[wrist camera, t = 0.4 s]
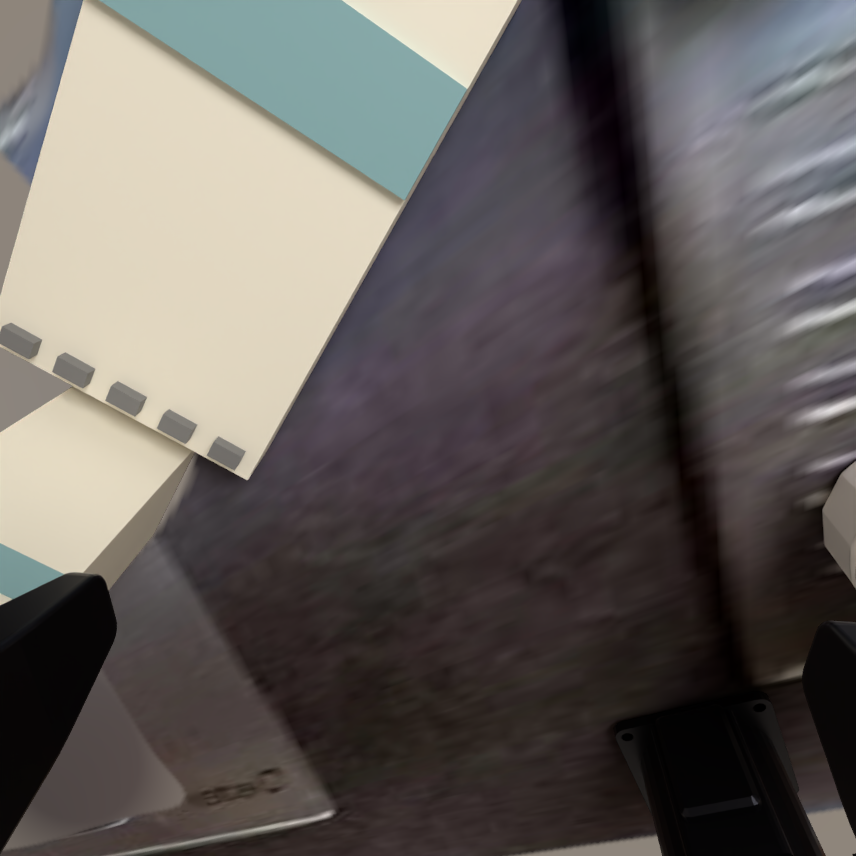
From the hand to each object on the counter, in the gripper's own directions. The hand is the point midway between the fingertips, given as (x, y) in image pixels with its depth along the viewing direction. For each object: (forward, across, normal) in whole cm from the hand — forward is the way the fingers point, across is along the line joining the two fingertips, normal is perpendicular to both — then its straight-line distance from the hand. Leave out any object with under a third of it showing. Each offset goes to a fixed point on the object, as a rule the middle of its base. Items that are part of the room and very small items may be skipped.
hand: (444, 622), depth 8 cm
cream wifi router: (+13, +7, -4) cm, 16 cm away
